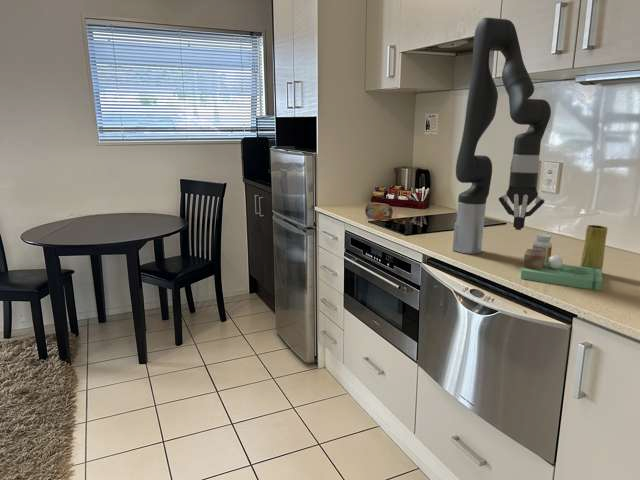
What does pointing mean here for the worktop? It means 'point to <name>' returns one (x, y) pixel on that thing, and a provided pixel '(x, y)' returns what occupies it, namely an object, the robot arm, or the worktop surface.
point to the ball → (555, 262)
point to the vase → (594, 247)
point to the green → (566, 276)
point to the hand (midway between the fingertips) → (518, 229)
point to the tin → (379, 211)
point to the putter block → (534, 259)
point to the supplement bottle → (543, 245)
